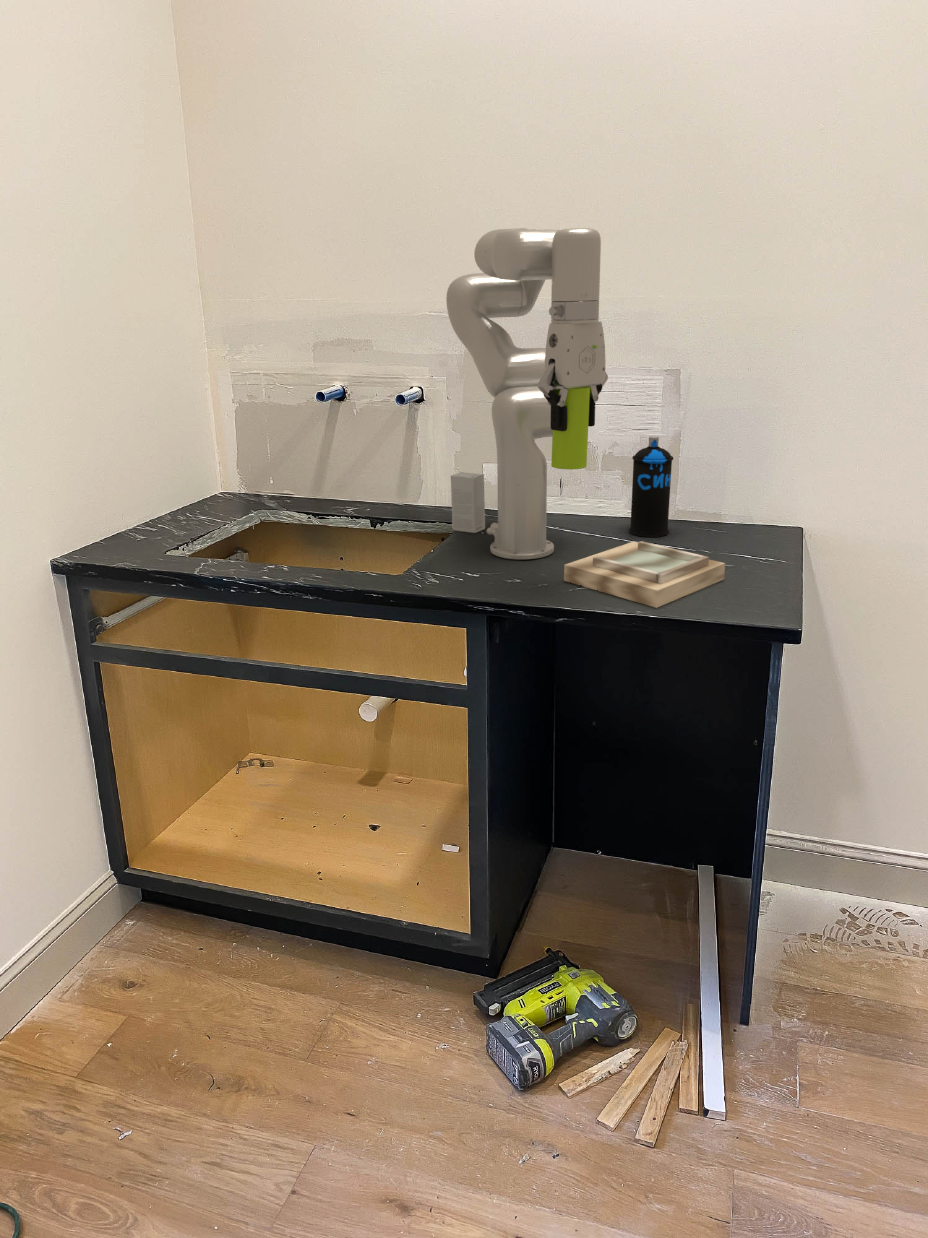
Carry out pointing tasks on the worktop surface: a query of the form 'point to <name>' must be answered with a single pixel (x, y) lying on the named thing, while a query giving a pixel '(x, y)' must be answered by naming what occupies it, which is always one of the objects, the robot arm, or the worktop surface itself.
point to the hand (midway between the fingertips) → (572, 426)
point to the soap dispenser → (573, 431)
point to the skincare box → (468, 502)
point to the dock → (645, 573)
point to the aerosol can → (651, 490)
